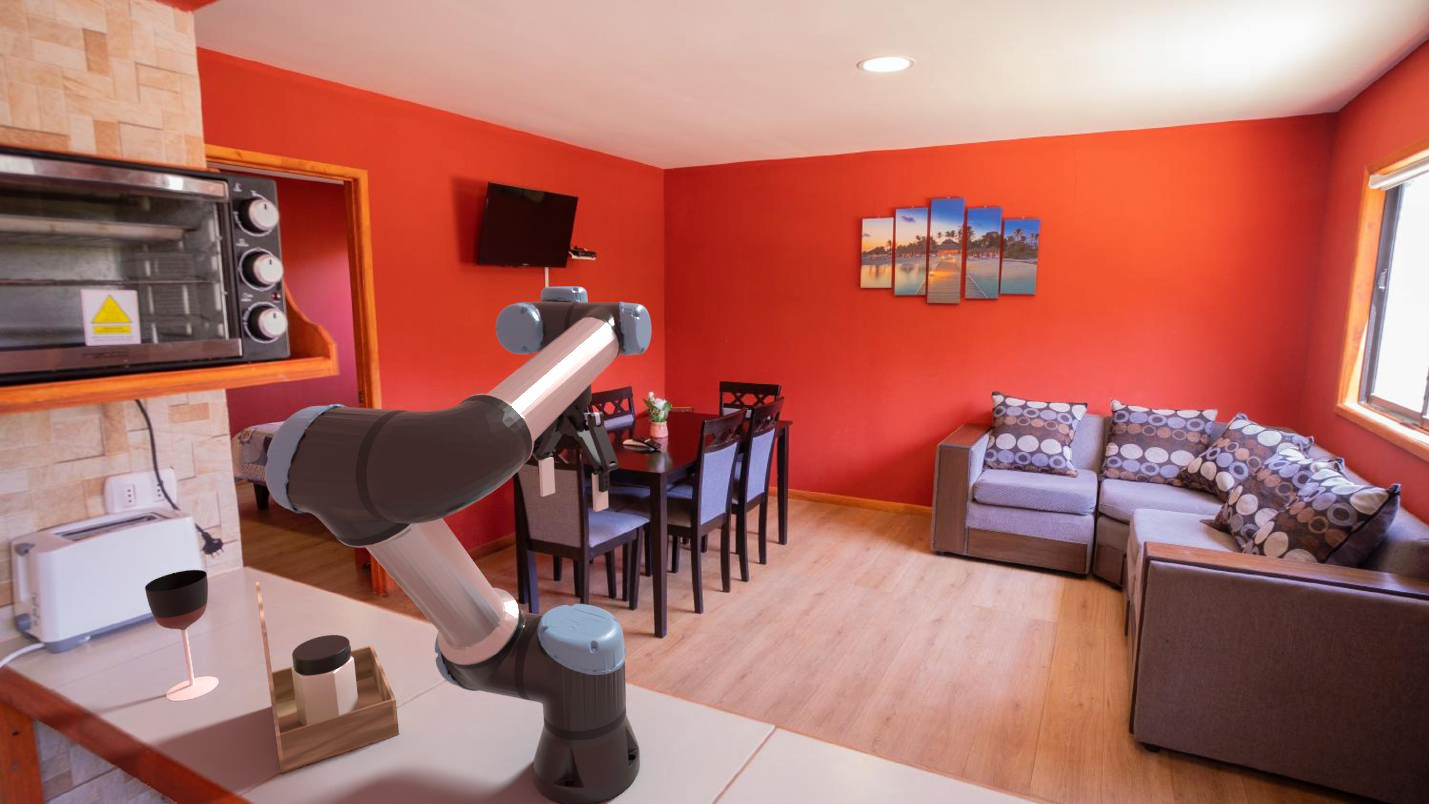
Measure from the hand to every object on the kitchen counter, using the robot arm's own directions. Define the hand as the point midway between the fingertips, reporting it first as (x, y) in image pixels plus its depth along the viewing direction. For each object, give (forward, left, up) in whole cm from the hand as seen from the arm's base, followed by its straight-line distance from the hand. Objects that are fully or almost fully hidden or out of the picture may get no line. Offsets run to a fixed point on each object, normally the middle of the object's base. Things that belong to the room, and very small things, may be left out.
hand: (573, 501), depth 126 cm
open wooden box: (+9, +39, -32) cm, 51 cm away
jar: (+10, +40, -31) cm, 51 cm away
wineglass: (+33, +58, -32) cm, 74 cm away
